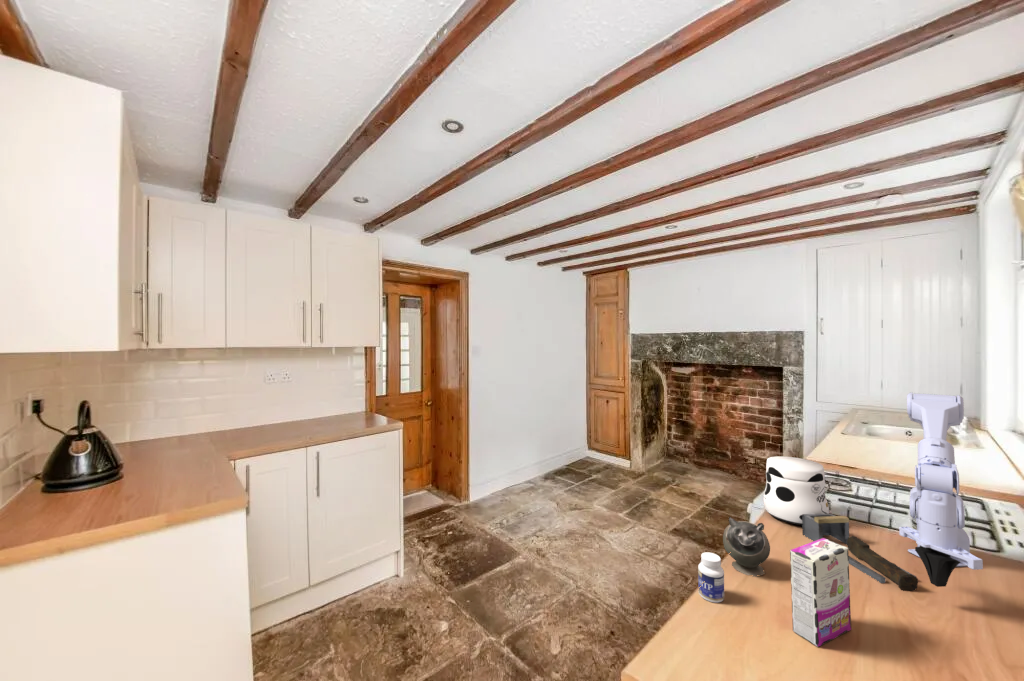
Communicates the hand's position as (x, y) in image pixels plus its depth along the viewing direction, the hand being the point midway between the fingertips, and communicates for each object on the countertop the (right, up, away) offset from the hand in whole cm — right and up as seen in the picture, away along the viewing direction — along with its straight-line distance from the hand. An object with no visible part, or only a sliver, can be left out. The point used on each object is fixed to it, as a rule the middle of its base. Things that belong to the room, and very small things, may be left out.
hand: (938, 584), depth 86 cm
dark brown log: (-1, -5, +15) cm, 15 cm away
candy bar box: (-31, -5, -7) cm, 32 cm away
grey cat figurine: (-33, -5, +15) cm, 36 cm away
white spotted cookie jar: (0, -5, +43) cm, 43 cm away
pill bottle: (-47, -5, +4) cm, 47 cm away
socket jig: (-1, -5, +21) cm, 21 cm away
